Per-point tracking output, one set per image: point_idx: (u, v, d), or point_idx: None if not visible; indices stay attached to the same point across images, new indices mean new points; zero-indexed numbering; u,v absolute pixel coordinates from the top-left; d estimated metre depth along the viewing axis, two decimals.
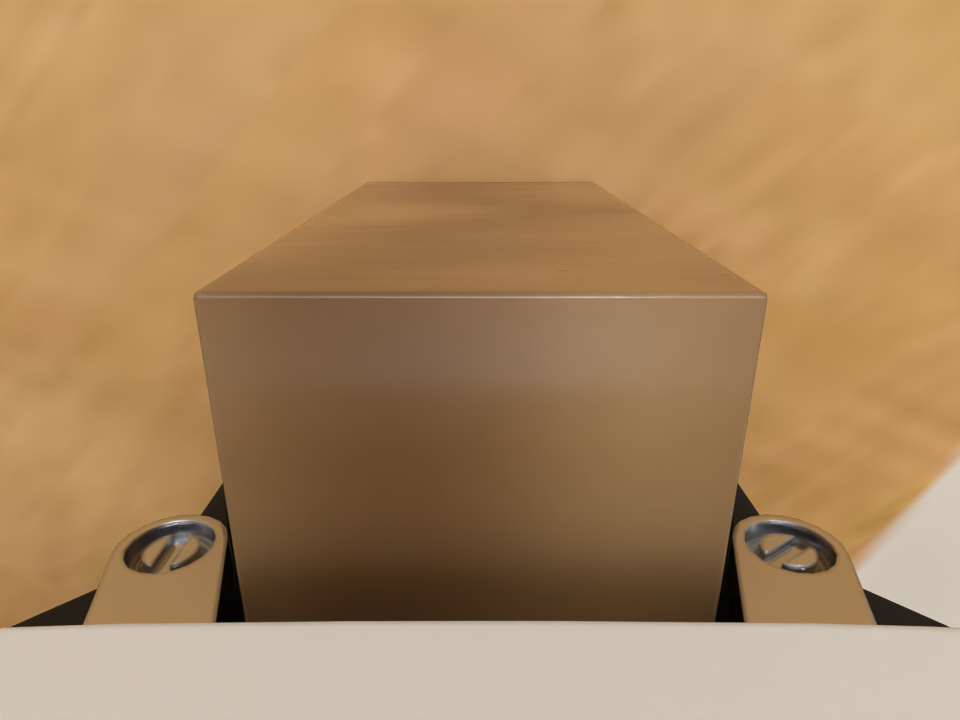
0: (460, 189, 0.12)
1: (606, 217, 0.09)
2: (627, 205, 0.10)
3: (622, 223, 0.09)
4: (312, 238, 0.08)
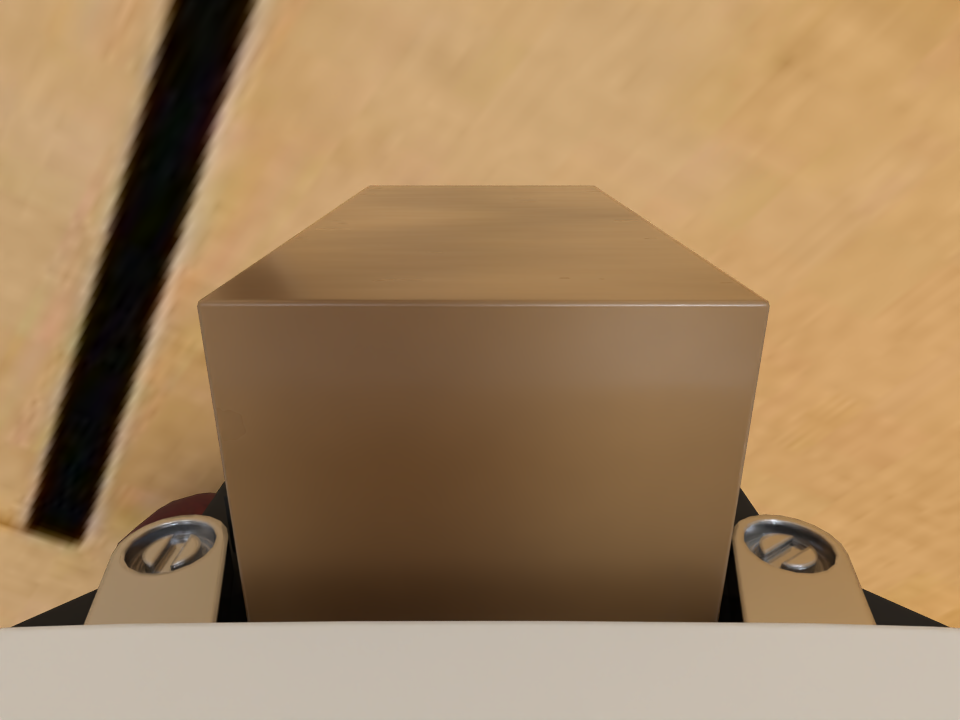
0: (461, 193, 0.13)
1: (608, 222, 0.09)
2: (628, 209, 0.10)
3: (624, 228, 0.09)
4: (315, 244, 0.08)
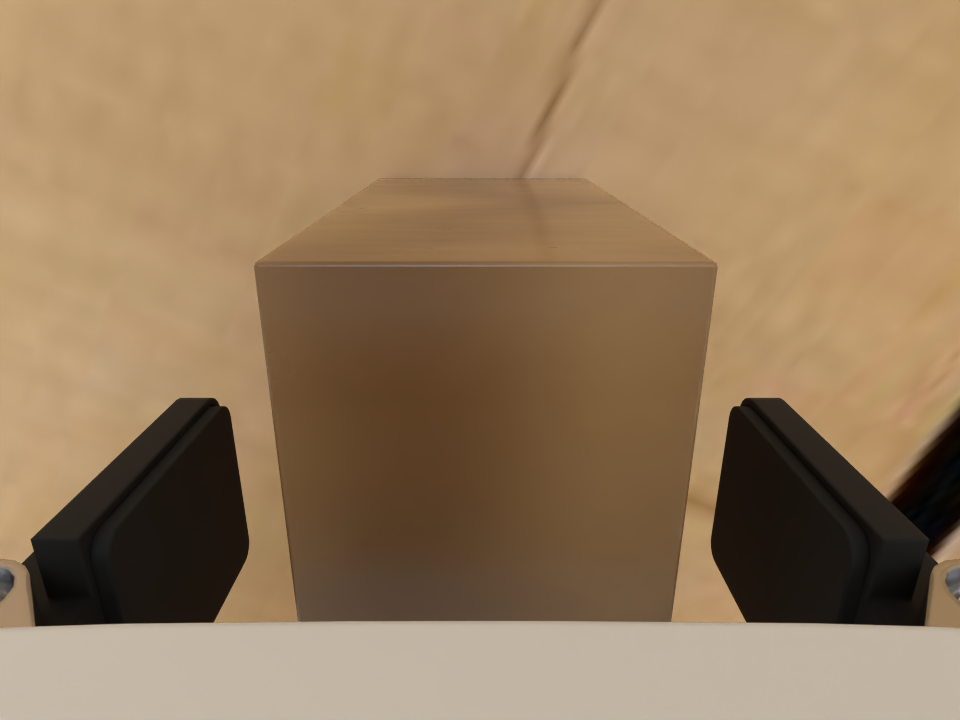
0: (465, 184, 0.14)
1: (594, 207, 0.11)
2: (614, 198, 0.12)
3: (607, 212, 0.10)
4: (341, 223, 0.09)
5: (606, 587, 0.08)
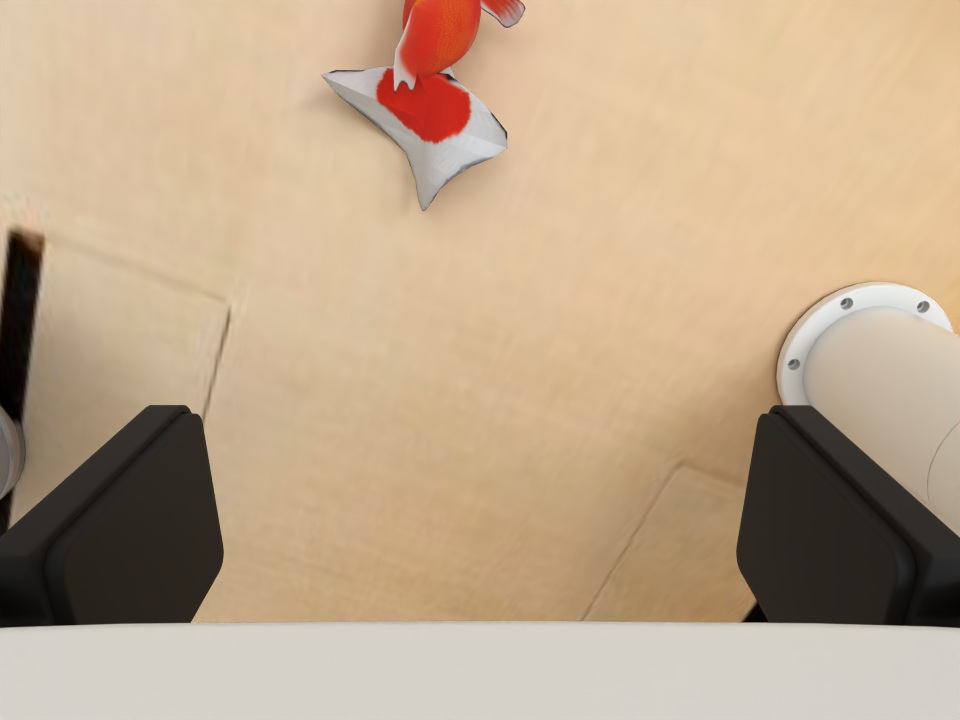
0: None
1: None
2: None
3: None
4: None
5: None
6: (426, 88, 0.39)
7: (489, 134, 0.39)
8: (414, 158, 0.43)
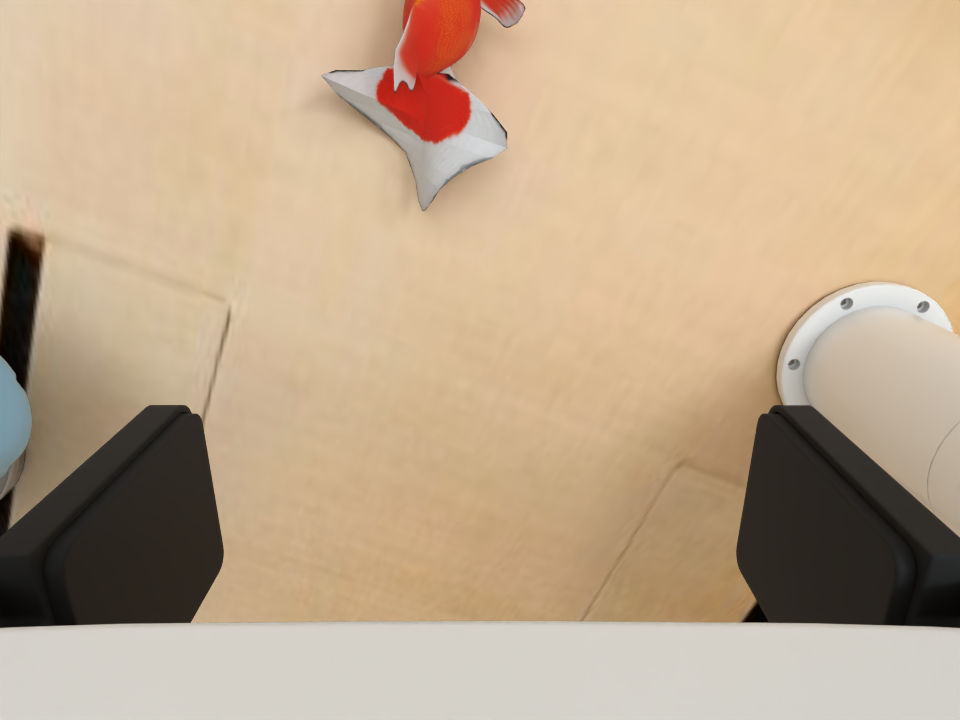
0: None
1: None
2: None
3: None
4: None
5: None
6: (426, 88, 0.39)
7: (489, 134, 0.39)
8: (414, 158, 0.43)
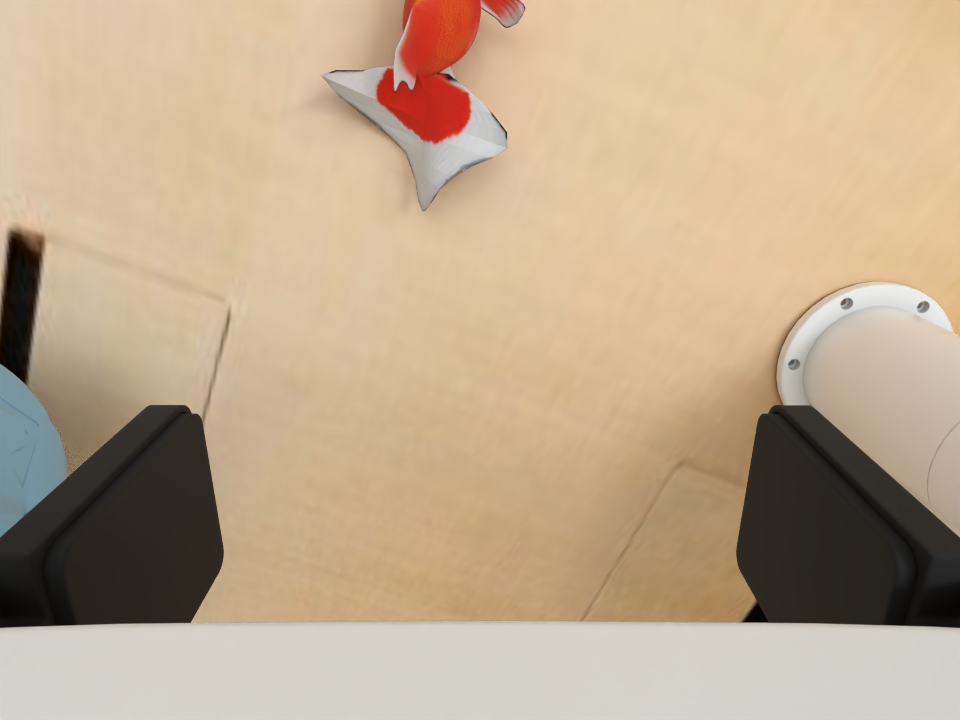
0: None
1: None
2: None
3: None
4: None
5: None
6: (426, 88, 0.39)
7: (489, 134, 0.39)
8: (414, 158, 0.43)
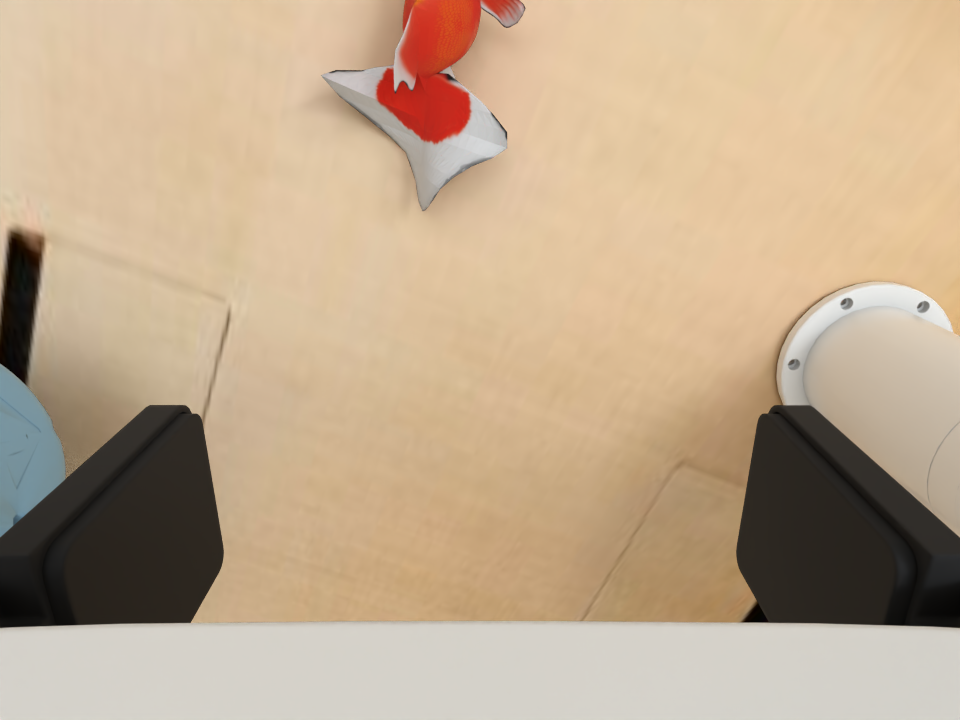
0: None
1: None
2: None
3: None
4: None
5: None
6: (426, 88, 0.39)
7: (489, 134, 0.39)
8: (414, 158, 0.43)
